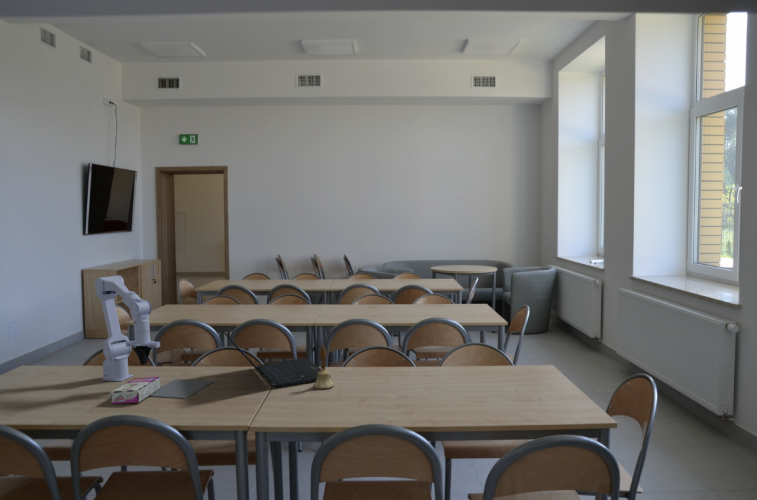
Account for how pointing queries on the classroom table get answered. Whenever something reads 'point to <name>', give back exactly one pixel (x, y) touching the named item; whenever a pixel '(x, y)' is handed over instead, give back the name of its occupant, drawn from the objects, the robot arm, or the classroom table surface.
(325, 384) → the hand bell
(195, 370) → the classroom table surface
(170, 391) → the mat
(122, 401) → the candy bar box
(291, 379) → the laptop
